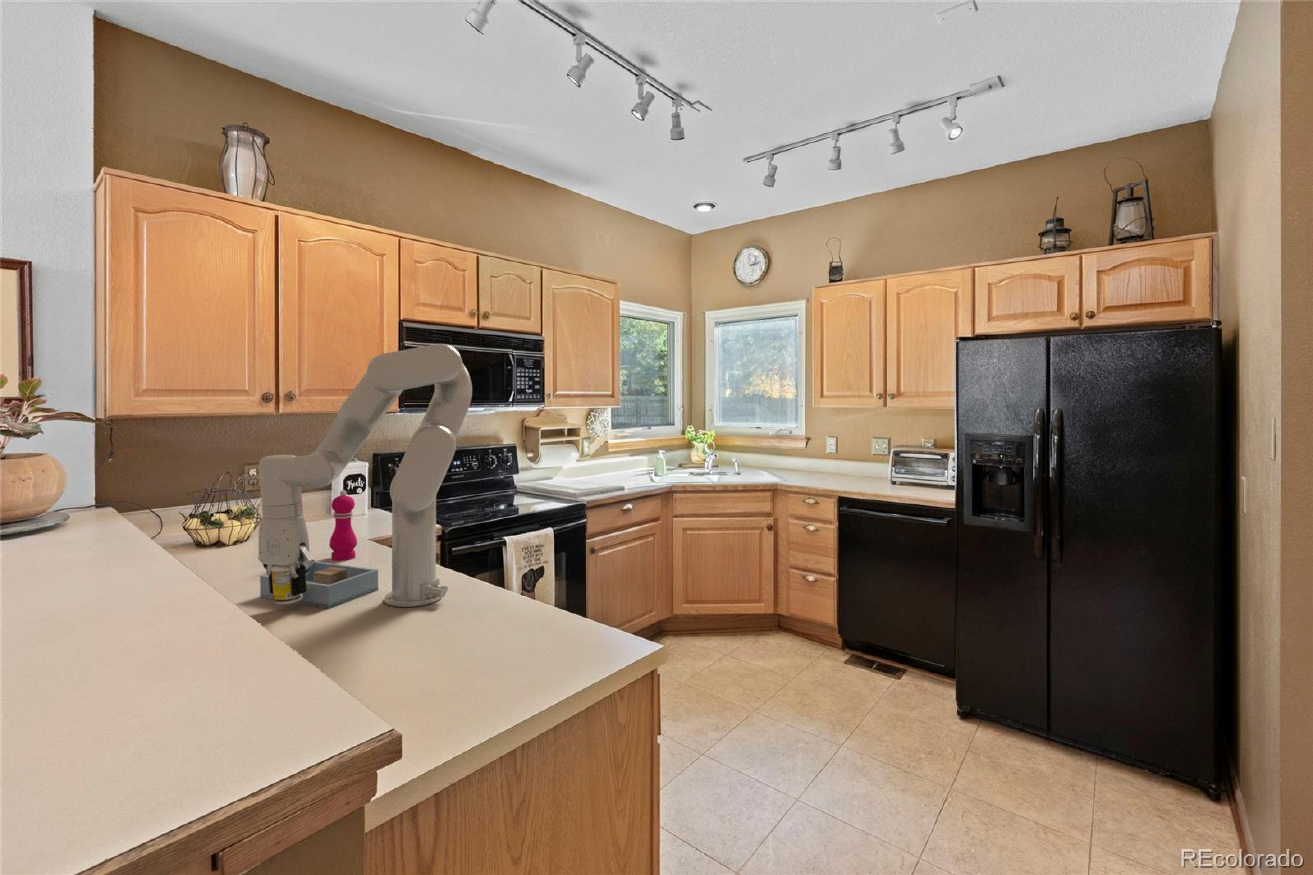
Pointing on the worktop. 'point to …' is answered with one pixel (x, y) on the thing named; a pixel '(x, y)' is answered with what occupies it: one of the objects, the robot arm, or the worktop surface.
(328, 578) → the walnut cube
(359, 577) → the tote
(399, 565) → the robot arm
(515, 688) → the worktop surface
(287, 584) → the supplement bottle
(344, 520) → the pepper mill
